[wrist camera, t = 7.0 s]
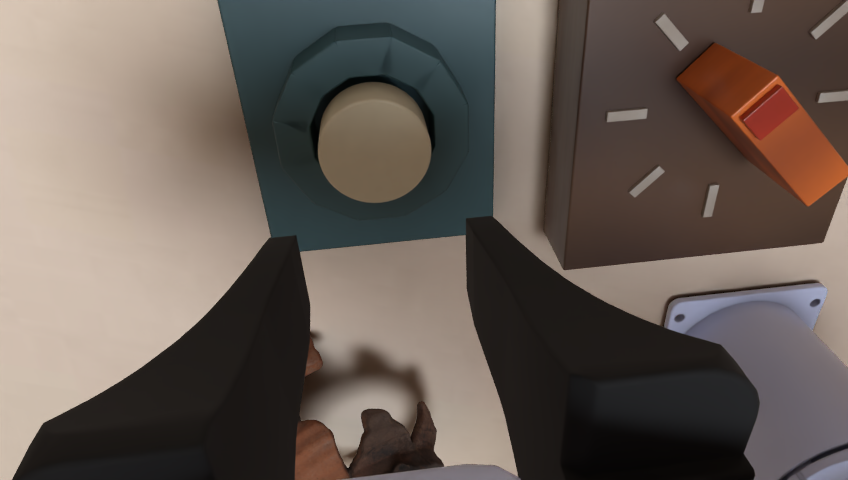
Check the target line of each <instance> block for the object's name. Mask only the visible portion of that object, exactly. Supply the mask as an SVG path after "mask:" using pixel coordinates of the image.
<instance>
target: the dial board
mask: <svg viewBox="0 0 848 480" xmlns="http://www.w3.org/2000/svg"><path fill="white" fill-rule="evenodd" d="M714 43H717V44H719V45H721V46H723V47H725V48H727V49H729V50H731V51H733V52H735V53H736V54H738V55H740V56H742V57H744V58H746V59H748V60H750V61H752V62H754V63H756V64H757V65H759V66H761V67H763V68H765V69H767V70H769V71H771V72H773V73H775V74H777V75H778V76H779V77H780V78H781V79H782V81H783V82H784V83H785V85H786V86H787V87H788V89H789V90H790V91H791V92H792V94H793V95H794V96H795V98H796V99H797V100H798V102H799V103H800V104H801V106H802V107H803V108H804V109H805V111H806V112H807V113H808V115H809V116H810V117H811V119H812V120H813V121H814V123H815V124H816V125H817V126H818V128H819V129H820V130H821V132H822V133H823V134H824V136H825V137H826V138H827V140H828V141H829V142H830V143H831V145H832V146H833V147H834V149H835V150H836V151H837V153H838V154H839V155H840V156H841V158H842V159H843V160H844V162H845V163H846V164H847V166H848V0H559V13H558V28H557V43H556V57H555V72H554V87H553V102H552V116H551V131H550V146H549V161H548V175H547V190H546V205H545V220H544V233H545V235H546V237H547V239H548V241H549V243H550V245H551V246H552V248H553V250H554V252H555V254H556V256H557V258H558V260H559V262H560V264H561V266H562V268H563V269H564V270H571V269H580V268H589V267H599V266H608V265H618V264H627V263H637V262H646V261H656V260H665V259H675V258H684V257H693V256H703V255H712V254H722V253H731V252H741V251H750V250H760V249H769V248H778V247H788V246H797V245H807V244H816V243H822V242H824V239H825V236H826V234H827V231H828V228H829V226H830V223H831V220H832V217H833V215H834V212H835V209H836V207H837V204H838V201H839V199H840V196H841V193H842V191H843V188H844V185H845V183H846V180H847V177H846V178H845V179H844V180H842V181H841V182H840V183H839V184H837V185H836V186H835V187H833V188H832V189H831V190H830V191H828V192H827V193H826V194H824V195H823V196H822V197H820V198H819V199H818V200H817V201H815V202H814V203H813V204H811V205H810V206H806V205H804V204H803V203H802V202H801V201H799V200H798V199H797V198H795V197H794V196H793V195H792V194H790V193H789V192H788V191H786V190H785V189H784V188H783V187H781V186H780V185H779V184H777V183H776V182H775V181H774V180H772V179H771V178H770V177H768V176H767V175H766V174H765V173H763V172H762V171H761V170H759V169H758V168H757V167H756V166H754V165H753V164H752V163H750V162H749V161H748V160H747V159H746V158H745V157H744V156H743V154H742V153H741V152H740V151H739V150H738V149H737V148H736V147H735V145H734V144H733V143H732V142H731V141H730V140H729V139H728V137H727V136H726V135H725V134H724V133H723V132H722V131H721V130H720V128H719V127H718V126H717V125H716V124H715V123H714V122H713V120H712V119H711V118H710V117H709V116H708V115H707V114H706V113H705V111H704V110H703V109H702V108H701V107H700V106H699V105H698V104H697V102H696V101H695V100H694V99H693V98H692V97H691V96H690V94H689V93H688V92H687V91H686V90H685V89H684V88H683V87H682V85H681V84H680V83H679V82H678V81H677V79H676V78H677V77H678V76H679V75H680V74H681V73H683V72H684V71H685V70H686V69H687V68H688V67H689V66H690V65H691V64H692V63H693V62H694V61H695V60H697V59H698V58H699V57H700V56H701V55H702V54H703V53H704V52H705V51H706V50H707V49H708V48H709V47H710V46H712V45H713V44H714Z"/></svg>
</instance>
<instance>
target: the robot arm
mask: <svg viewBox="0 0 848 480" xmlns="http://www.w3.org/2000/svg"><path fill="white" fill-rule="evenodd" d="M466 271H467V292H468V297H469V302H470V307H471V312H472V317H473V321H474V325H475V328H476V331H477V334H478V337H479V340H480V343H481V346H482V349H483V352H484V354H485V357H486V360H487V363H488V366H489V369H490V372H491V375H492V377H493V380H494V383H495V386H496V389H497V392H498V395H499V398H500V401H501V404H502V408H503V411H504V414H505V418H506V423H507V427H508V432H509V436H510V440H511V445H512V449H513V453H514V458H515V463H516V467H517V472H518V476H519V477H517V476H515V475H513V474H511V473H509V472H508V471H506V470H504V469H502V468H500V467H498V466H495V465H478V464H462V465H454V466H446V467H438V468H430V469H422V470H414V471H406V472H398V473H390V474H382V475H374V476H366V477H358V478H350V479H342V480H848V367H847V366H846V365H845V364H844V363H843V362H842V361H841V360H840V359H839V358H838V357H837V356H836V355H835V354H834V353H833V352H832V351H831V350H830V349H829V347H828V346H827V345H826V344H825V343H824V342H823V341H822V340H821V339H820V338H819V337H818V336H817V335H816V334H815V333H814V332H813V331H812V330H813V328H814V325H815V323H816V320H817V318H818V315H819V313H820V310H821V308H822V305H823V303H824V300H825V298H826V295H827V292H828V290H827V288H826V287H825V286H824V285H823V284H821V283H811V284H802V285H793V286H783V287H774V288H765V289H756V290H747V291H738V292H729V293H720V294H711V295H702V296H693V297H683V298H678V299H675V300H673V301H672V302H671V303H670V304H669V306H668V310H667V315H666V320H665V324H664V327H662V326H659V325H656V324H654V323H651V322H648V321H646V320H643V319H641V318H638V317H636V316H634V315H631V314H629V313H627V312H625V311H623V310H621V309H619V308H616V307H614V306H612V305H610V304H608V303H606V302H604V301H602V300H600V299H599V298H597V297H595V296H593V295H591V294H590V293H588V292H586V291H585V290H583V289H581V288H580V287H578V286H576V285H575V284H573V283H572V282H570V281H569V280H567V279H566V278H564V277H563V276H561V275H560V274H559V273H557V272H556V271H554V270H553V269H552V268H550V267H549V266H548V265H546V264H545V263H544V262H542V261H541V260H540V259H539V258H538V257H536V256H535V255H534V254H533V253H532V252H530V251H529V250H528V249H527V248H526V247H525V246H524V245H522V244H521V243H520V242H519V241H518V240H517V239H516V238H515V237H514V236H513V235H512V234H511V233H510V232H508V231H507V230H506V229H505V228H504V227H503V226H502V225H501V224H500V223H499V222H498V221H497V220H496V219H495V218H494V217H492V216H484V217H474V218H466ZM679 314H680V315H679ZM677 315H679V316H677ZM676 316H677V317H676ZM309 344H310V301H309V296H308V291H307V286H306V281H305V276H304V271H303V266H302V261H301V256H300V251H299V246H298V241H297V236H296V235H293V236H283V237H273V238H269V239H268V240H267V242H266V243H265V244H264V245H263V246H262V248H261V249H260V250H259V252H258V253H257V254H256V256H255V257H254V258H253V260H252V261H251V262H250V264H249V265H248V266H247V268H246V269H245V270H244V271H243V273H242V274H241V275H240V276H239V278H238V279H237V280H236V281H235V283H234V284H233V285H232V286H231V287H230V289H229V290H228V291H227V292H226V293H225V295H224V296H223V297H222V298H221V299H220V300H219V301H218V302H217V303H216V304H215V305H214V306H213V308H212V309H211V310H210V311H209V312H208V313H207V314H206V315H205V316H204V317H203V318H202V319H201V320H200V321H199V322H198V323H197V324H196V325H194V326H193V327H192V328H191V329H190V330H189V331H188V332H187V333H185V334H184V335H183V336H182V337H181V338H180V339H178V340H177V341H176V342H175V343H174V344H172V345H171V346H170V347H168V348H167V349H166V350H164V351H163V352H162V353H160V354H159V355H158V356H156V357H155V358H154V359H152V360H151V361H150V362H148V363H147V364H146V365H144V366H143V367H142V368H140V369H139V370H137V371H136V372H134V373H133V374H131V375H129V376H128V377H126V378H125V379H123V380H122V381H120V382H119V383H117V384H115V385H114V386H112V387H110V388H109V389H107V390H105V391H104V392H102V393H100V394H98V395H97V396H95V397H93V398H91V399H90V400H88V401H86V402H84V403H82V404H80V405H78V406H76V407H74V408H72V409H70V410H68V411H67V412H65V413H63V414H61V415H59V416H57V417H55V418H53V419H51V420H49V421H47V422H45V423H43V425H42V426H41V428H40V429H39V431H38V433H37V434H36V436H35V438H34V439H33V441H32V443H31V444H30V446H29V448H28V450H27V452H26V454H25V456H24V458H23V460H22V462H21V464H20V465H19V467H18V469H17V471H16V473H15V475H14V477H13V479H12V480H295V457H296V437H297V427H298V418H299V412H300V405H301V399H302V392H303V385H304V379H305V372H306V365H307V358H308V351H309Z"/></svg>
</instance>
